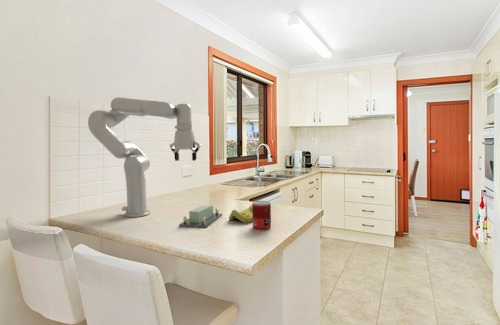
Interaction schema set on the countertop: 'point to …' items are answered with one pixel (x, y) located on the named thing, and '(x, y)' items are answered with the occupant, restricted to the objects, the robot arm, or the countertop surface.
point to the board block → (201, 213)
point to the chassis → (203, 224)
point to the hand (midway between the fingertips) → (185, 160)
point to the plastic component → (243, 215)
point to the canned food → (261, 215)
